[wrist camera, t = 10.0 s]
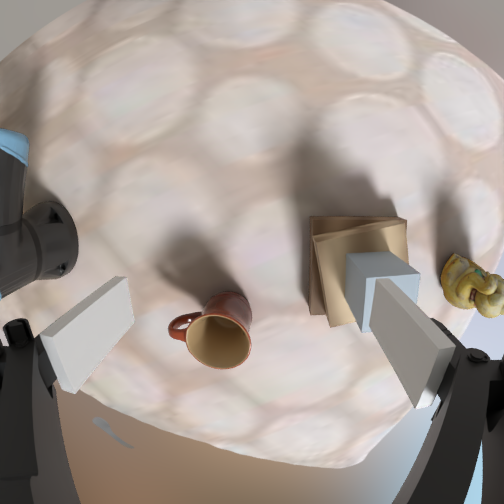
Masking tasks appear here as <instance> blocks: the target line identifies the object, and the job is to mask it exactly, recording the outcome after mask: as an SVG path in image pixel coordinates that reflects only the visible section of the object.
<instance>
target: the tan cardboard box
mask: <svg viewBox="0 0 504 504" xmlns="http://www.w3.org/2000/svg"><path fill="white" fill-rule="evenodd" d="M390 219H395V220H398V221H400V222H403V223H405V228H406V229H407V220H405V219H402V218H400V217H372V216H310V267H309V303H308V306H309V311H310V315H326V310H325V304H324V298H323V291H322V285H321V280H320V274H319V268H318V263H317V257H316V252H315V247H314V241H313V236H315V235H319V234H324V233H329V232H333V231H338V230H343V229H347V228H352V227H357V226H362V225H366V224H371V223H376V222H380V221H385V220H390Z"/></svg>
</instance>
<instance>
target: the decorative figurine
mask: <svg viewBox="0 0 504 504" xmlns="http://www.w3.org/2000/svg"><path fill="white" fill-rule="evenodd" d="M440 277H441V285H442V289H443V291H444V292H443V293H444V296H445V298H446V299H447V301H448V302H449V303H451V304H452V305H453V306H455V307H458V308H461V309H472V308H477V310H478V311H479V313H480V314H481V315H482V316H484V317H487V318H494V317H497V316H498V315H500V314H501V315H504V279H503V278H502V277H501V276H499V275H497V274H490V273H489V272H485V271H484V270H483V269H482V268H481V267H480V266H478V265H477V264H476V263H475V262H473V261H471V260H470V259H467V258H465V257H462V258H461V256H459V255H458V254H456V253H454V254H452V255H451V257H450V258H449V260H448V261H447V262H446V264H445V266H444V268H443V271H442V274H441V275H440Z"/></svg>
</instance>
